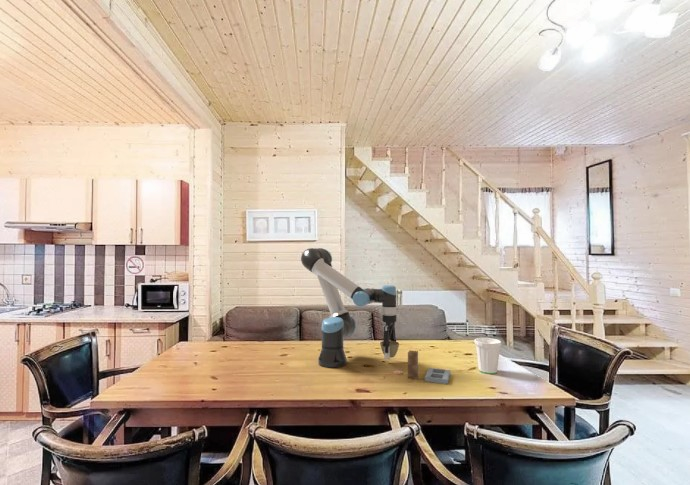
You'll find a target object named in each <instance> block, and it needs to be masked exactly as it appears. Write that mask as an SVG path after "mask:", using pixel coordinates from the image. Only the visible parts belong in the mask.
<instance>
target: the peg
mask: <svg viewBox="0 0 690 485" xmlns="http://www.w3.org/2000/svg"><path fill="white" fill-rule="evenodd" d="M418 378H419V352H418V350H409V351H408V352H407V379H412V380H417V379H418Z"/></svg>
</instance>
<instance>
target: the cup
mask: <svg viewBox="0 0 690 485" xmlns="http://www.w3.org/2000/svg"><path fill="white" fill-rule="evenodd" d="M474 344H475V347H476V348H475V349H476V356H477V364H478V371H479V372H480V373H482V374H486V375H495V374H497V373H498V368H499V367H498V366H499V357H500V351H501V349H500V348H501V346H502V341H501V340H500V339H498V338H490V337H476V338H474Z"/></svg>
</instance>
